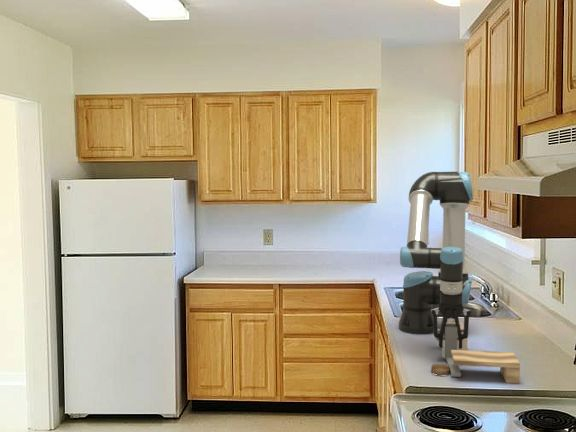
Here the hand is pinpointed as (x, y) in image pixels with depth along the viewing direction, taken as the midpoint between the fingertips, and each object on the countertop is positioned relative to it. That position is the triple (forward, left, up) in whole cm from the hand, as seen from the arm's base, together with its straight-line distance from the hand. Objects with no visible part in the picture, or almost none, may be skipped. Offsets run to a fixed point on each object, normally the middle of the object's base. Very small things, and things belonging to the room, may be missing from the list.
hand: (450, 356), depth 205 cm
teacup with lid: (-11, +1, -1) cm, 11 cm away
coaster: (+12, -4, -1) cm, 13 cm away
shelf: (+13, +10, -1) cm, 17 cm away
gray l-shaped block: (+7, 0, -1) cm, 7 cm away
